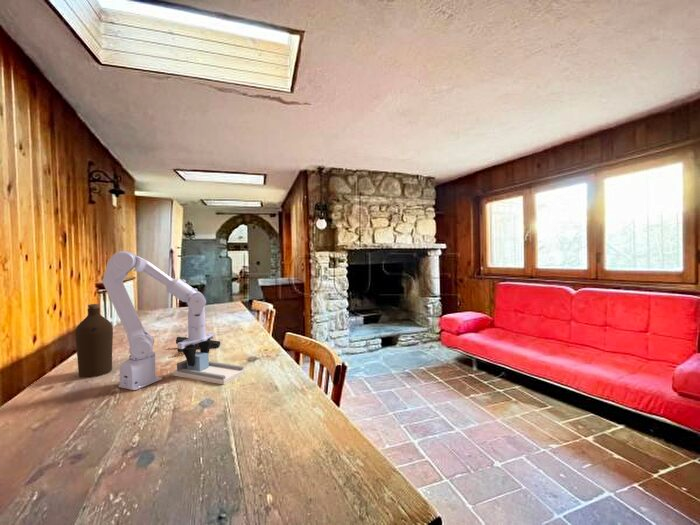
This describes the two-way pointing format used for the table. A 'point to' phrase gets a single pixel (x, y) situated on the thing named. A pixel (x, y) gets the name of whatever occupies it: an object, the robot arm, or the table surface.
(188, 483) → the table surface
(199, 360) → the block
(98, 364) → the olive oil
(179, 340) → the black forked piece
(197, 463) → the table surface
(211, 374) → the rail board
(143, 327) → the robot arm
